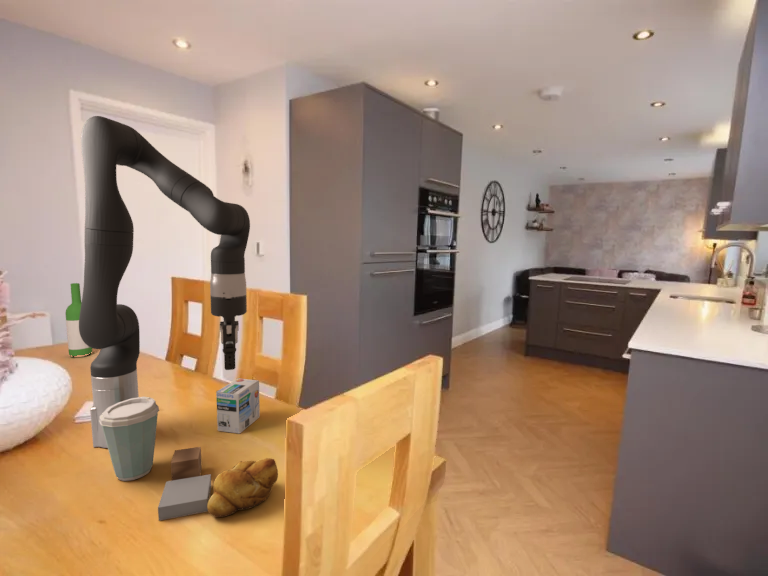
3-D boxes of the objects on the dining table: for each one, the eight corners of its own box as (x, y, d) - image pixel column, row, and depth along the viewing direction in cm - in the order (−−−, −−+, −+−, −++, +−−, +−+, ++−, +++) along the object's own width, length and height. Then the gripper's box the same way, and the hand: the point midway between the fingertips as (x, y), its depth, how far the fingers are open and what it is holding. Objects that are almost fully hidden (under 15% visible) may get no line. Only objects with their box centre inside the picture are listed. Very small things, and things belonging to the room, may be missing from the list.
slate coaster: (158, 520, 71) (157, 507, 70) (167, 493, 78) (166, 481, 78) (207, 511, 73) (207, 498, 73) (211, 485, 81) (210, 474, 81)
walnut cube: (172, 486, 81) (170, 462, 80) (176, 472, 85) (175, 450, 85) (199, 481, 82) (198, 458, 82) (201, 468, 87) (200, 446, 86)
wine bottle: (74, 359, 160) (68, 285, 156) (65, 356, 164) (59, 283, 160) (96, 354, 167) (90, 283, 163) (87, 351, 171) (81, 282, 167)
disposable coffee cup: (119, 494, 78) (113, 421, 76) (93, 476, 83) (87, 407, 82) (172, 468, 87) (168, 402, 85) (145, 453, 92) (141, 391, 90)
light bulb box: (240, 434, 102) (238, 394, 101) (216, 431, 103) (214, 391, 102) (260, 416, 112) (260, 379, 111) (239, 414, 114) (238, 377, 112)
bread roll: (216, 531, 69) (214, 488, 68) (196, 503, 76) (194, 464, 75) (283, 498, 77) (283, 460, 76) (260, 476, 84) (259, 441, 83)
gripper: (212, 289, 95) (213, 355, 97) (208, 298, 81) (210, 375, 83) (245, 288, 97) (246, 353, 99) (247, 297, 84) (248, 371, 86)
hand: (230, 363), depth 91 cm, fingers open, 8 cm apart
